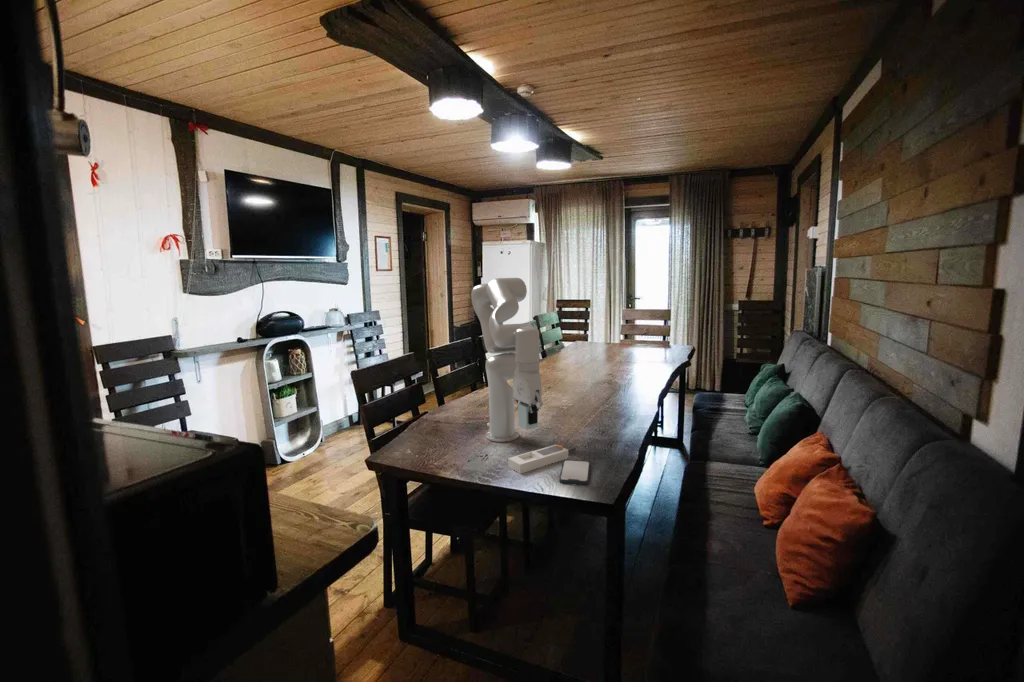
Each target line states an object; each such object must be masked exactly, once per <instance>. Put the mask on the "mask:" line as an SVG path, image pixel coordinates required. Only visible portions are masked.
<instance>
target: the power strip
mask: <svg viewBox="0 0 1024 682" xmlns="http://www.w3.org/2000/svg"><path fill="white" fill-rule="evenodd" d="M575 451H577V448H576V447H572V448H564V446H563V445H560V444H553V445H550V446H549V445H548V446H546V447H543V448H539V449H536V450H532V451H529V452H525V453H521V454H517V455H514V456H510V457H509V458H507V459H508V460H507V461H508V462H507V464H508V465H507V467H508V468H509V467H510V468H509V469H511V470H513V471H514V470H515V471H514V472H516V471H517V472H516V473H518V474H520V473H521V474H523V473H526V472H529V471H530V472H531V471H533V470H537V469H539V468H543V467H546V466H549V465H552V464H551V463H553V464H555V462H556V463H558V461H559V462H561V460H562V461H565V460H568V459H569V453H572V452H575ZM567 458H568V459H567ZM564 459H565V460H564ZM548 464H549V465H548ZM545 465H546V466H545ZM536 468H537V469H536Z"/></svg>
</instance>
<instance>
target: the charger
mask: <svg viewBox="0 0 1024 682" xmlns="http://www.w3.org/2000/svg"><path fill="white" fill-rule="evenodd" d="M532 407H534V404H533V405H532ZM517 409H518V410H517V412H518V413H517V416H518V418H517V420H518V427H520V428H522V429H524V430H527V431H528V430H530V429H535V428H537V427H539V411H538V412H537V423H535V424H531V425H529V424H528V412H530V411H529V404H526V403H519V404H518V403H517Z"/></svg>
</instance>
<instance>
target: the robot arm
mask: <svg viewBox="0 0 1024 682" xmlns="http://www.w3.org/2000/svg"><path fill="white" fill-rule="evenodd" d="M527 289H528V288H527V285H526V282H525V281H524V280H523V279H522V278H520V277H503V278H502V277H500V278H499V277H498V278H494V279H491V280H490V281H489V282H488V283H481V284H477V285H475V286H473V288H472V290H471V292H470V293H471V295H470V296H471V304H472V307H473V310H474V313H475V314H476V316H477V318H478V320H479V322H480V327H481V332H482V333H481V334H482V336H483V342H484V346H485V350H486V351H487V352H488V353H489V354H493V355H491V356H490V357H488V358H487V359H486V361H485V373H486V379H487V386H488V409H489V410H488V411H489V412H488V414H489V422H488V423H487V424H486V425H487V427H489V430H488V431H487V432H486V433H485V438H486V439H487V440H489V441H492V442H498V443H507V442H511V441H514V440H517V439H518V438H519V437H520V433H519V431H518V430H516V427H515V426H516V425H515V424H516V422H515V421H516V420H515V417H516V416H515V402H516V403H517V405H518V404H519V403H526V404H529V411H530V412H528V424H529V425H531V424H535V423H537V412H538V413H539V410H540V409H541V408H542V407H543V406H544V403H543V401H542V396H543V393H542V390H543V389H542V379H541V373H540V372H541V371H540V331H539V329H538V328H537V327H534V326H533V324H531V323H529V322H528V323H527V322H526V323H523V322H522V323H509V324H504V322H506V321H508V320H510V319H512V318H514V317H515V316H516V315H517V314H518V312H519V310H520V306H519V303H521V302H523V300H525V298H526V297H527V294H528V290H527ZM494 354H495V355H494ZM510 380H513V381H512V385H510V384H509V382H508V381H510ZM533 404H534V407H532V405H533ZM506 441H507V442H506Z"/></svg>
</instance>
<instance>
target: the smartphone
mask: <svg viewBox="0 0 1024 682" xmlns="http://www.w3.org/2000/svg"><path fill="white" fill-rule="evenodd" d="M590 470H591V463H590V461H586V460H584V461H583V460H571V459H565V460H563V462H562V466H561V471H560V475H559V483H560V484H561V483H562V484H561V485H572V484H576V485H577V486H587V484H588V485H589V481H590V472H589V471H590ZM576 485H575V486H576Z"/></svg>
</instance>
